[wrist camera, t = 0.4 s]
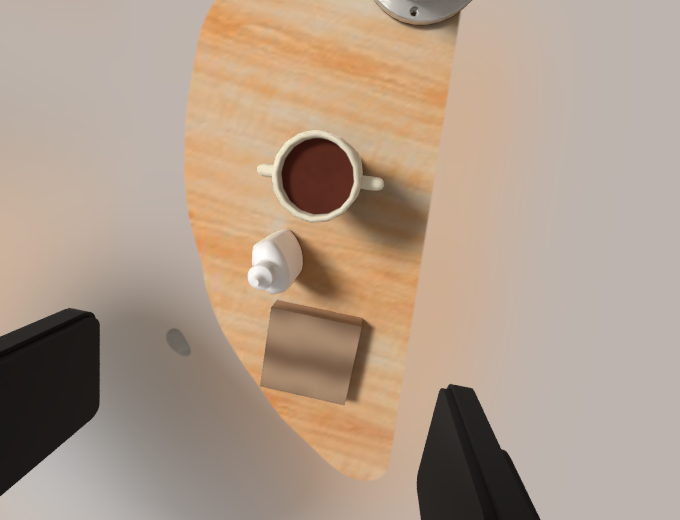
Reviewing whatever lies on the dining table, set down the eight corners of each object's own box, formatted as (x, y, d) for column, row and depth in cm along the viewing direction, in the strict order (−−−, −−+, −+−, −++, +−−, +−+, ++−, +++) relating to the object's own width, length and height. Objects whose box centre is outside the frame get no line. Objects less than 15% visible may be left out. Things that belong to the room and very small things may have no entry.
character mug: (387, 147, 39) (392, 137, 26) (378, 211, 41) (378, 232, 28) (290, 135, 40) (249, 121, 27) (285, 199, 41) (244, 213, 29)
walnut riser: (276, 300, 45) (271, 307, 42) (362, 318, 44) (361, 327, 42) (266, 375, 48) (260, 386, 45) (346, 393, 47) (344, 405, 45)
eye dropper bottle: (310, 233, 42) (284, 259, 31) (301, 277, 44) (273, 317, 32) (274, 224, 42) (235, 246, 31) (266, 268, 44) (226, 305, 32)
